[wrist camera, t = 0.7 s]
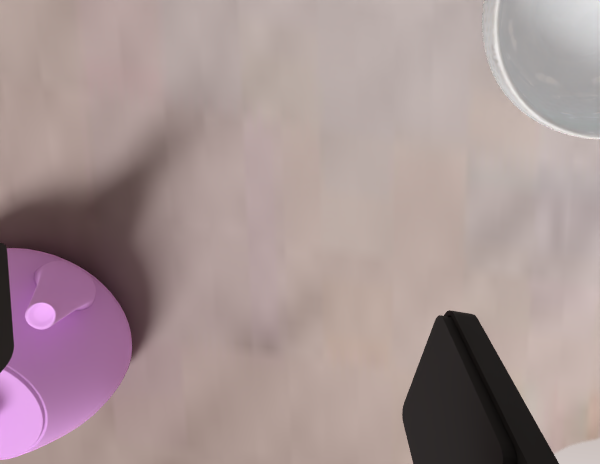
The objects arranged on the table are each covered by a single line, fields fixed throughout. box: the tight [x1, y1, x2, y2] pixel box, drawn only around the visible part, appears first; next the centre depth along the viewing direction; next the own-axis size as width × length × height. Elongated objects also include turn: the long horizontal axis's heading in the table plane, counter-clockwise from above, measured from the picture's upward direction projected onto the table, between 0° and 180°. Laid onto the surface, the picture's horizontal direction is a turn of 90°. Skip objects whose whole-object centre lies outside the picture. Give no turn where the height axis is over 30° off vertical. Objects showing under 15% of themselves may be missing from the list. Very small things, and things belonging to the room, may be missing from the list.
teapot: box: [0, 248, 132, 460], centre depth 40 cm, size 25×18×14 cm
